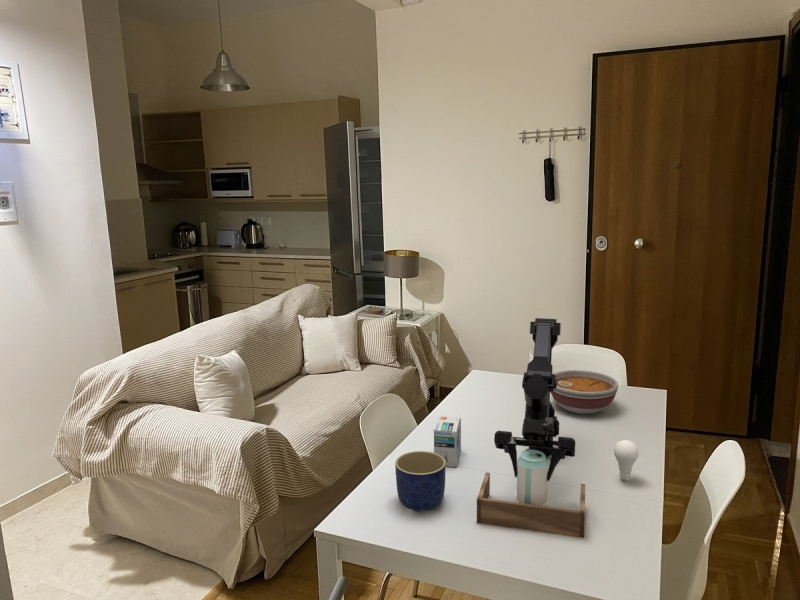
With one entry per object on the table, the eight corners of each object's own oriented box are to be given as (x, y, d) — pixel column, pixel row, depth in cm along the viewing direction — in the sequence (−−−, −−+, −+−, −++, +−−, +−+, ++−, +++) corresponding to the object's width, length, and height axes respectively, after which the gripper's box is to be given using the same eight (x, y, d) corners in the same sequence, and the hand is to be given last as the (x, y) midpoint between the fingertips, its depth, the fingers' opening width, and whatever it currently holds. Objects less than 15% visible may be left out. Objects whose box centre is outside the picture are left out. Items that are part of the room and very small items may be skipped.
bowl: (537, 413, 207) (538, 385, 205) (558, 392, 226) (559, 366, 224) (607, 426, 195) (609, 396, 193) (623, 403, 214) (625, 375, 212)
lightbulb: (636, 476, 163) (639, 437, 161) (637, 487, 158) (639, 447, 155) (612, 473, 165) (614, 434, 163) (612, 483, 160) (614, 444, 157)
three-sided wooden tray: (485, 494, 156) (485, 472, 155) (584, 506, 149) (585, 484, 148) (476, 522, 143) (476, 499, 142) (583, 538, 136) (584, 513, 135)
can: (522, 491, 150) (523, 445, 148) (550, 498, 147) (552, 452, 144) (512, 505, 144) (513, 457, 142) (541, 512, 141) (543, 464, 138)
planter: (386, 500, 154) (385, 460, 152) (424, 484, 161) (423, 446, 159) (417, 522, 144) (416, 479, 142) (456, 504, 152) (456, 463, 149)
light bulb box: (457, 468, 170) (457, 431, 168) (433, 466, 171) (433, 430, 169) (461, 451, 180) (461, 416, 178) (438, 449, 182) (438, 415, 179)
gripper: (495, 399, 147) (488, 463, 139) (576, 406, 141) (574, 472, 133) (499, 417, 156) (493, 478, 148) (576, 424, 150) (573, 487, 143)
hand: (531, 478), depth 143 cm, fingers closed on can, 7 cm apart
